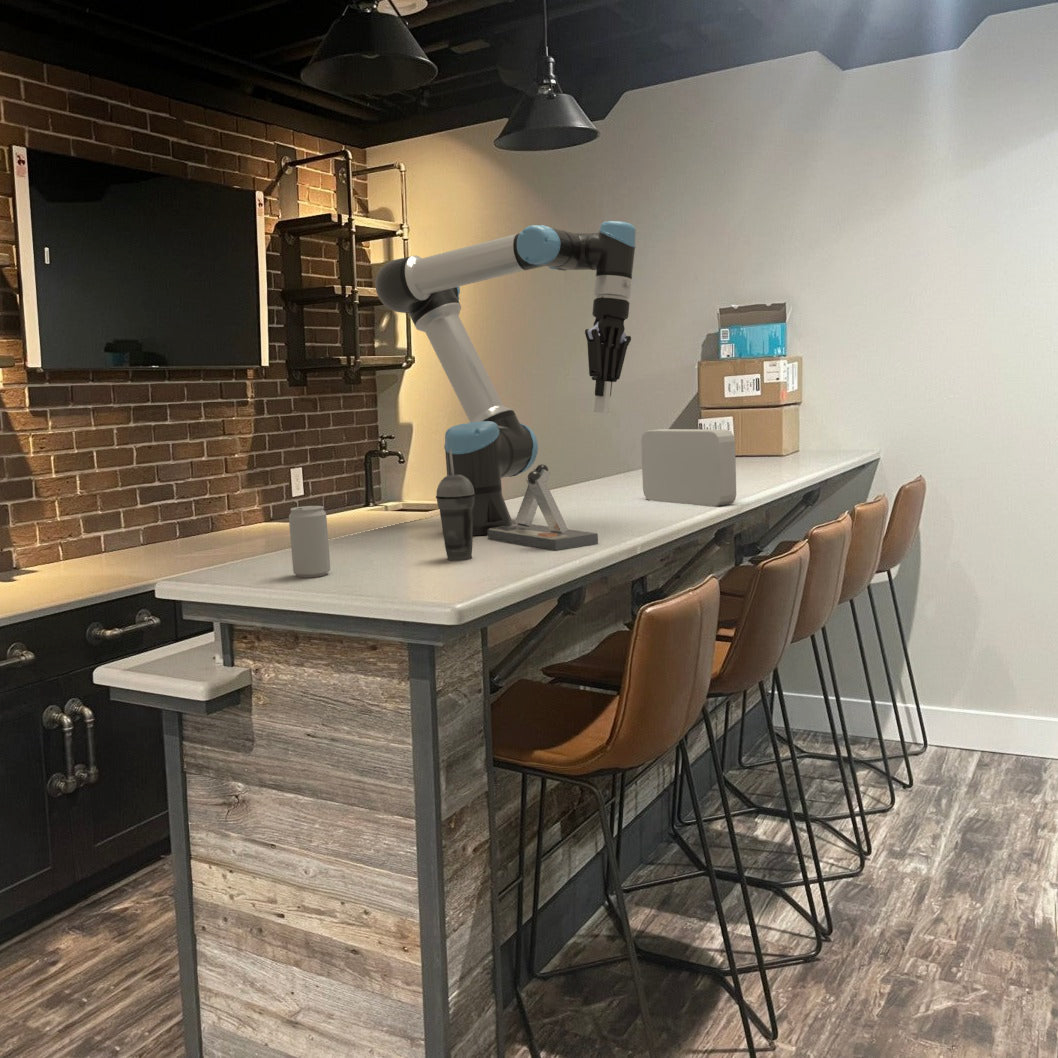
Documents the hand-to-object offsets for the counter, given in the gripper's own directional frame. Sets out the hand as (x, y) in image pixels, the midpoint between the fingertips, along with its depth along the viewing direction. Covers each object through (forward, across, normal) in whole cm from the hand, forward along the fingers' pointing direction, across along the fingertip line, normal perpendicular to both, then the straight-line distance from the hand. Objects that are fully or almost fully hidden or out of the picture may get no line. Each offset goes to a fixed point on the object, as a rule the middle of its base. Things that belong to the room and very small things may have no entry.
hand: (601, 412), depth 218 cm
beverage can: (+33, -64, +10) cm, 73 cm away
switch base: (+27, -18, -2) cm, 32 cm away
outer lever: (+24, -20, -9) cm, 33 cm away
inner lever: (+25, -16, +5) cm, 30 cm away
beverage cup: (+30, -40, -2) cm, 50 cm away
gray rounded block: (+20, +46, +6) cm, 50 cm away
